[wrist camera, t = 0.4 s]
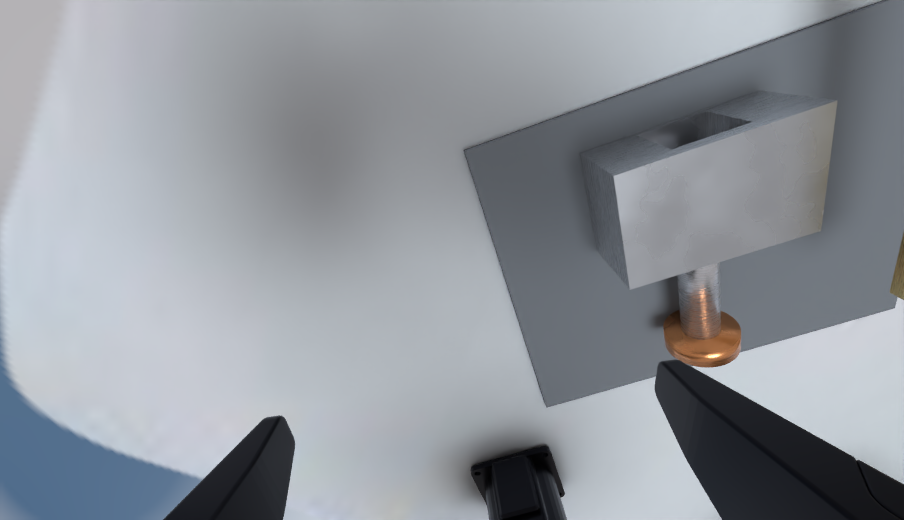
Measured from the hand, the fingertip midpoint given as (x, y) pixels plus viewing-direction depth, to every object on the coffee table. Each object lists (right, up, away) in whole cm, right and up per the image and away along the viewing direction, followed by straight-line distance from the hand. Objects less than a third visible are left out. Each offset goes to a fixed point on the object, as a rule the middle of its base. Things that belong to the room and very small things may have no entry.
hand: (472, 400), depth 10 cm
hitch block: (+11, +8, +12) cm, 18 cm away
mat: (+15, +5, +14) cm, 21 cm away
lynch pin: (+12, +4, +14) cm, 19 cm away
